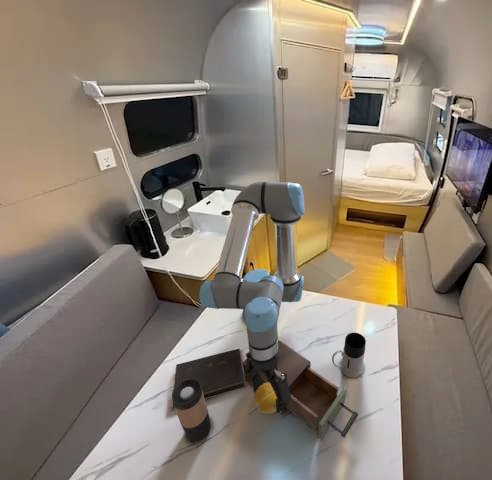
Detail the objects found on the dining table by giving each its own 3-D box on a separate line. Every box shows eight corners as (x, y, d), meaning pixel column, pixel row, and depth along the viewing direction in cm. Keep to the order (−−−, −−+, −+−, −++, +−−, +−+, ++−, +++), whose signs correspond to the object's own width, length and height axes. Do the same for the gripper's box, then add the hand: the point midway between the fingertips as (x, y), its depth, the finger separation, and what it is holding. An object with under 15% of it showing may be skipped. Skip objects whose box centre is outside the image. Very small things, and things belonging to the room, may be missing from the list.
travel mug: (211, 439, 84) (199, 400, 74) (184, 447, 82) (168, 408, 72) (212, 414, 90) (202, 375, 80) (187, 420, 88) (173, 382, 78)
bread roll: (265, 420, 78) (264, 413, 76) (250, 396, 84) (249, 388, 82) (289, 402, 83) (289, 394, 81) (273, 380, 89) (273, 373, 87)
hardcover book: (177, 368, 104) (176, 364, 103) (240, 351, 111) (239, 348, 110) (173, 409, 91) (172, 405, 90) (244, 387, 98) (244, 383, 97)
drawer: (360, 416, 90) (363, 401, 86) (338, 455, 80) (340, 440, 76) (304, 375, 102) (304, 361, 98) (278, 405, 92) (277, 390, 88)
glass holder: (367, 370, 106) (372, 344, 98) (337, 388, 99) (340, 361, 92) (353, 354, 112) (357, 327, 105) (324, 369, 106) (326, 342, 98)
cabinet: (310, 379, 102) (310, 361, 97) (282, 412, 91) (281, 394, 86) (273, 353, 111) (272, 335, 106) (245, 380, 100) (242, 362, 95)
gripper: (305, 362, 70) (304, 412, 81) (247, 322, 81) (254, 370, 92) (284, 384, 64) (287, 434, 75) (226, 338, 75) (235, 387, 86)
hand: (268, 399), depth 83 cm, fingers closed on bread roll, 9 cm apart
